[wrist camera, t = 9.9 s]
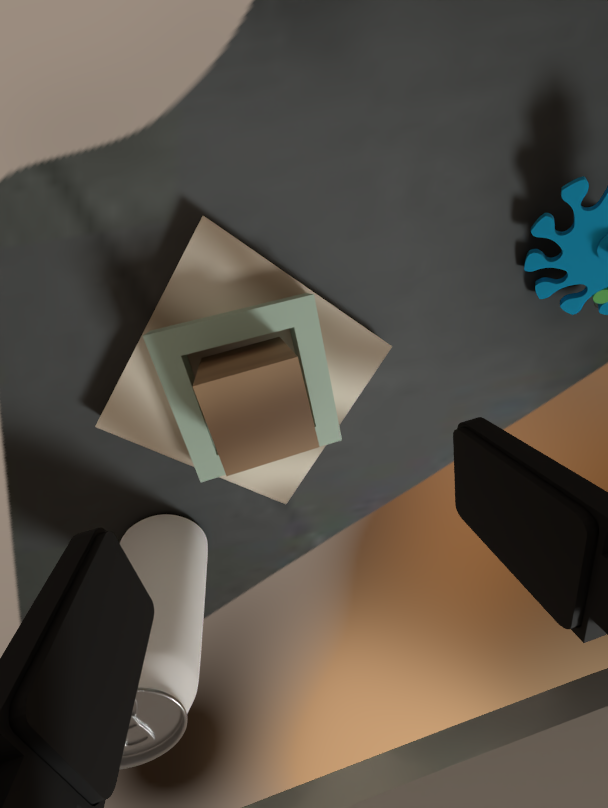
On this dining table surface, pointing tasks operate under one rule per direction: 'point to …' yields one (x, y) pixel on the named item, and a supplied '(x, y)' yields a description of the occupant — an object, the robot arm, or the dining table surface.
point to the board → (222, 292)
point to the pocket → (228, 328)
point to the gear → (575, 251)
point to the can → (167, 631)
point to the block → (255, 405)
